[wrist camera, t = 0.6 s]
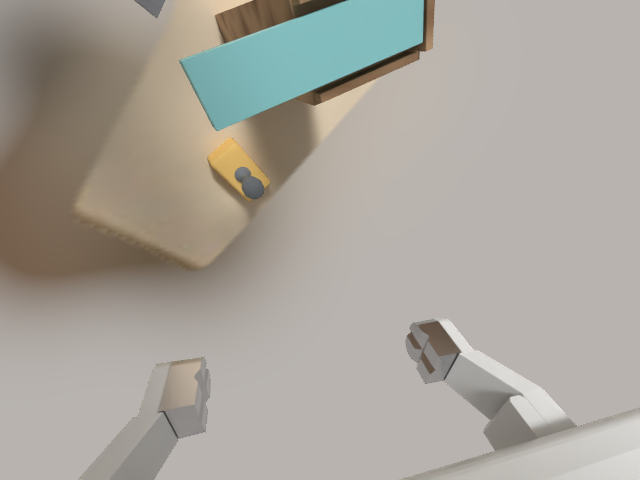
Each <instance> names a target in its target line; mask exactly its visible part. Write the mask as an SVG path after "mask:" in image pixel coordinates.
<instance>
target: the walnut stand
mask: <svg viewBox="0 0 640 480" xmlns="http://www.w3.org/2000/svg"><path fill="white" fill-rule="evenodd" d="M342 1H345V0H253V1H250V2H248V3H245V4H243V5H240V6H238V7H235V8H233V9H230V10H227V11H225V12H222V13H220V14H217V15H215V17H216V19H217V22H218V24H219V27H220V29H221V32H222V34H223V37H224V39H225V42H226V43H228V42H231V41H234V40H236V39H239V38H242V37H245V36H248V35H250V34H253V33H256V32H259V31H261V30H264V29H267V28H270V27H273V26H275V25H278V24H281V23H284V22H286V21H289V20H292V19H295V18H298V17H300V16H303V15H306V14H309V13H311V12H314V11H317V10H320V9H323V8H325V7H328V6H331V5H334V4H336V3H339V2H342ZM434 3H435V0H424V12H423V42H422V43H420V44H418V45H416V46H413V47H411V48H409V49H406V50H404V51H402V52H399V53H397V54H395V55H392V56H390V57H388V58H385V59H383V60H381V61H378V62H376V63H374V64H371V65H369V66H367V67H365V68H362V69H360V70H358V71H355V72H353V73H351V74H348V75H346V76H344V77H341V78H339V79H337V80H334V81H332V82H330V83H327V84H325V85H323V86H321V87H318V88H316V89H314V90H311V91H309V92H307V93H304V94H302V95H300V96H297V97H295V99H298V100H300V101H303V102H306V103H309V104H312V105H314V106H315V105H317V104H319V103H323V102H325V101H327V100H329V99H332V98H334V97H336V96H338V95H341V94H343V93H345V92H347V91H350V90H352V89H354V88H356V87H359V86H361V85H363V84H365V83H367V82H370V81H372V80H374V79H376V78H379V77H381V76H383V75H385V74H387V73H390V72H392V71H394V70H396V69H399V68H401V67H403V66H405V65H407V64H410V63H412V62H414V61H416V60H419V51H428V50H430V49H432V48H433V26H434Z"/></svg>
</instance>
